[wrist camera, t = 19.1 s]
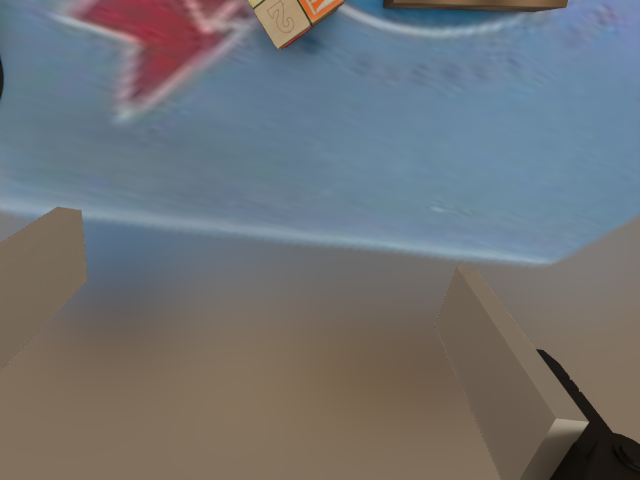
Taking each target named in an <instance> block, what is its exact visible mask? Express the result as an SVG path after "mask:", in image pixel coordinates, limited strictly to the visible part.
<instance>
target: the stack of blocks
mask: <svg viewBox="0 0 640 480" xmlns="http://www.w3.org/2000/svg"><path fill="white" fill-rule="evenodd" d="M344 1H345V0H248V2H249V3H250V5H251V6H252V8H253V9H254V12H255V14H256V16H257V17H258V19H259V20H260V22H261V24H262V25H263V27H264V29H265V30H266V32H267V33H268V35H269V37H270V38H271V40H272V42H273V43H274V45H275V46H276V48H280V49H284V48H286V47H287V46H289V45H290V44H291V43H293V42H294V41H295V40H297V39H298V38H300V37H301V36H302V35H304V34H305V33H306V32H308V31H309V30H310V29H311V28H312V27H314V26H315V25H317V24H318V23H319V22H321V21H322V20H324V19H325V18H326V17H328V16H329V15H330V14H332V13H333V12H335V11H336V10H337V9H338V8H339V7H340V6H341V5H342V4H343V3H344Z"/></svg>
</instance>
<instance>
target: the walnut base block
mask: <svg viewBox="0 0 640 480" xmlns="http://www.w3.org/2000/svg"><path fill="white" fill-rule="evenodd" d="M567 2H568V0H384V3H383V8H405V9H442V10H479V11H516V12H538V11H545V10H551V9H558V8H565V7H566V6H567Z"/></svg>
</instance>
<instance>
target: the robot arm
mask: <svg viewBox="0 0 640 480" xmlns="http://www.w3.org/2000/svg"><path fill="white" fill-rule="evenodd" d="M1 90H2V68H1V62H0V95H1ZM86 281H87V270H86V257H85V246H84V235H83V223H82V212H81V210H75V209H69V208H62V207H56V208H55V209H53V210H52V211H50V212H49V213H47V214H45V215H44V216H42V217H41V218H39V219H38V220H36V221H34V222H33V223H31V224H30V225H28V226H27V227H25V228H23V229H22V230H20V231H19V232H17V233H16V234H14V235H12V236H11V237H9V238H8V239H6V240H5V241H3V242H1V243H0V372H1V370H2V369H3V368H4V367H5V366H6V365H7V364H8V363H9V362H10V361H11V360H12V359H13V358H14V357H15V356H16V355H17V354H18V353H19V352H20V350H21V349H22V348H23V347H24V346H25V345H26V344H27V343H28V342H29V341H30V340H31V339H32V338H33V337H34V336H35V335H36V334H37V333H38V332H39V331H40V329H41V328H42V327H43V326H44V325H45V324H46V323H47V322H48V321H49V320H50V319H51V318H52V317H53V316H54V315H55V314H56V313H57V312H58V310H60V308H61V307H62V306H63V305H64V304H65V303H66V302H67V301H68V300H69V299H70V298H71V297H72V296H73V295H74V294H75V293H76V292H77V290H79V288H81V287H82V285H83V284H84V283H85V282H86ZM434 327H435V329H436V331H437V334H438V336H439V338H440V340H441V343H442V345H443V347H444V350H445V352H446V354H447V357H448V359H449V361H450V364H451V366H452V368H453V371H454V373H455V375H456V377H457V379H458V382H459V384H460V387H461V389H462V391H463V393H464V396H465V398H466V400H467V403H468V405H469V407H470V409H471V412H472V414H473V416H474V419H475V421H476V423H477V426H478V428H479V430H480V433H481V435H482V437H483V439H484V442H485V444H486V446H487V448H488V451H489V453H490V456H491V458H492V460H493V462H494V465H495V467H496V469H497V472H498V474H499V476H500V478H501V480H640V444H639V443H637V442H636V441H634V440H632V439H630V438H628V437H625V436H623V435H621V434H616V433H613V432H612V431H611V430H610V429H609V427H608V426H607V424H606V423H605V422H604V421H603V419H602V418H601V417H600V415H599V414H598V413H597V412H596V410H595V409H594V408H593V406H592V405H591V404H590V402H589V401H588V400H587V399H586V397H585V396H584V395H583V394H582V392H579V388H578V387H577V386H576V385H575V383H574V382H573V381H572V380H570V377H569V375H568V374H567V373H566V372H565V370H564V369H563V368H562V366H561V365H560V364H559V363H558V362H557V361H556V360H554V359H553V358H552V357H551V356H550V355H548V354H547V353H546V352H545V351H544V350H538V349H535V348H534V347H533V345H532V344H531V342H530V341H529V340H528V338H527V337H526V336H525V334H524V333H523V332H522V330H521V329H520V327H519V326H518V325H517V323H516V322H515V321H514V319H513V318H512V317H511V315H510V314H509V312H508V311H507V310H506V309H505V307H504V306H503V305H502V303H501V302H500V300H499V299H498V297H497V296H496V295H495V293H494V292H493V291H492V289H491V288H490V287H489V285H488V284H487V283H486V281H485V280H484V279H483V277H482V276H481V274H480V273H479V272H478V270H477V269H473V268H467V267H460V266H456V269H455V272H454V274H453V277H452V280H451V282H450V285H449V288H448V290H447V293H446V296H445V299H444V301H443V304H442V307H441V310H440V312H439V315H438V318H437V320H436V323H435V326H434Z"/></svg>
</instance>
